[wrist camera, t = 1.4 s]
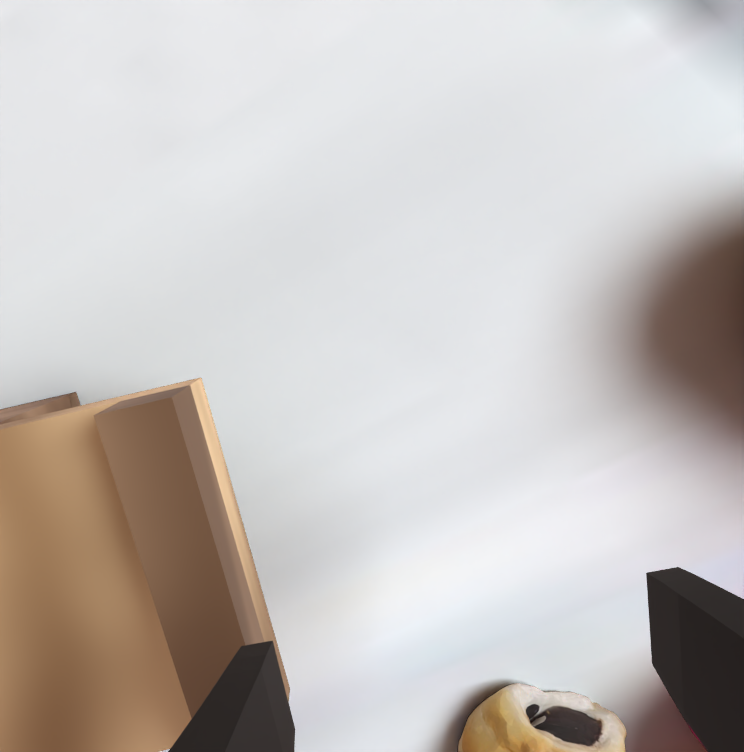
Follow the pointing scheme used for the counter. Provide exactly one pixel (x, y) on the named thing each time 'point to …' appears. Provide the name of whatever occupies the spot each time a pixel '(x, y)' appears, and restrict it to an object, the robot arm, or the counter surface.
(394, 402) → the counter surface
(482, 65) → the counter surface
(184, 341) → the counter surface
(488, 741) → the pastry
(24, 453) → the lid
